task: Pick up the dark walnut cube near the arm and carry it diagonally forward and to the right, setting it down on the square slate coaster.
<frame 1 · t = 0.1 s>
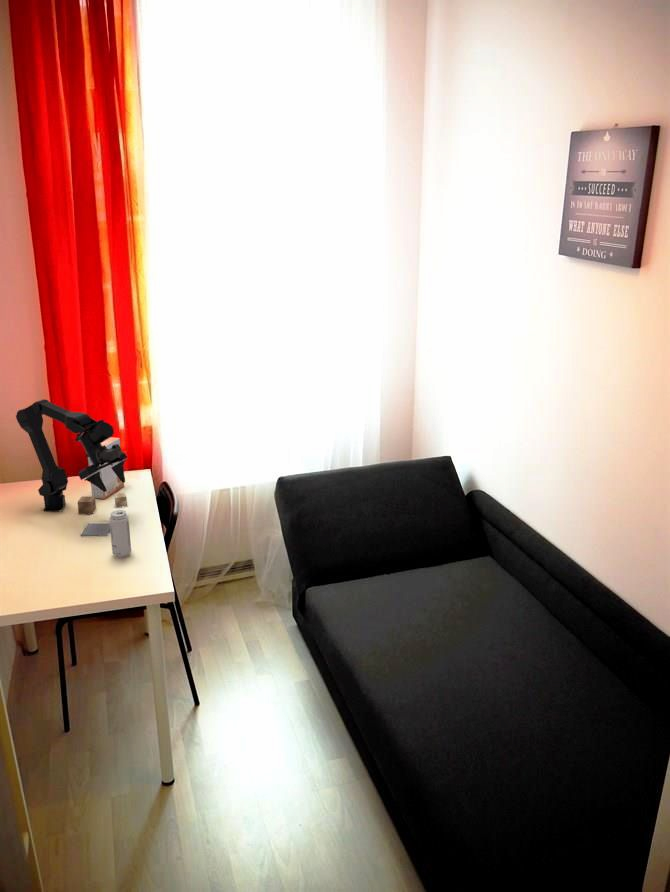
hand: (115, 486, 262), 15 cm above the table, tool tilted 35°, fingers open, 9 cm apart
walnut cube: (87, 511, 278), on the table
slate coaster: (97, 530, 263), on the table
oak block: (121, 504, 284), on the table
cracker box: (108, 492, 295), on the table
energy drink can: (122, 555, 247), on the table
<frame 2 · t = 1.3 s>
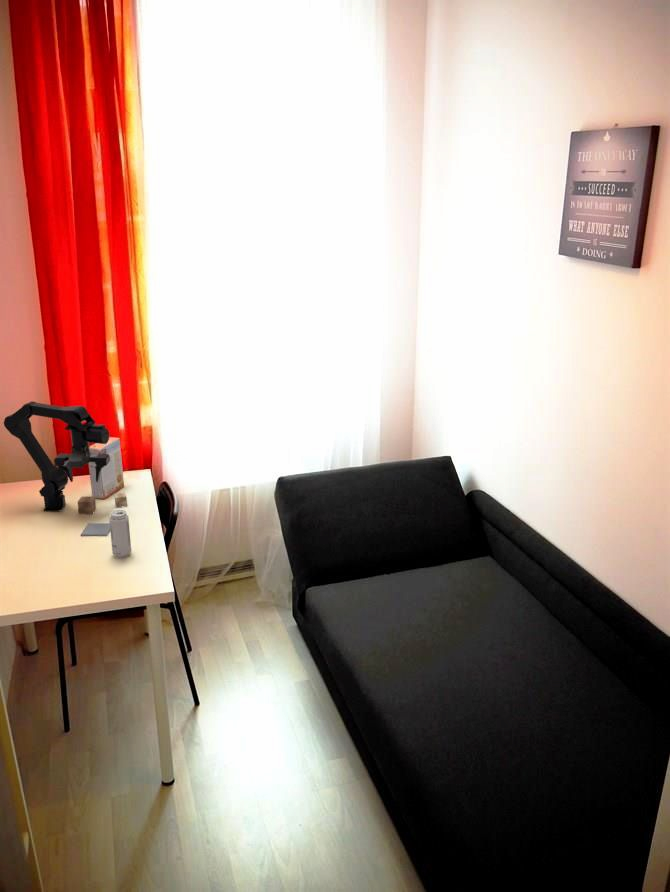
hand: (84, 481, 274), 12 cm above the table, tool pointing down, fingers open, 9 cm apart
nothing on the table moved.
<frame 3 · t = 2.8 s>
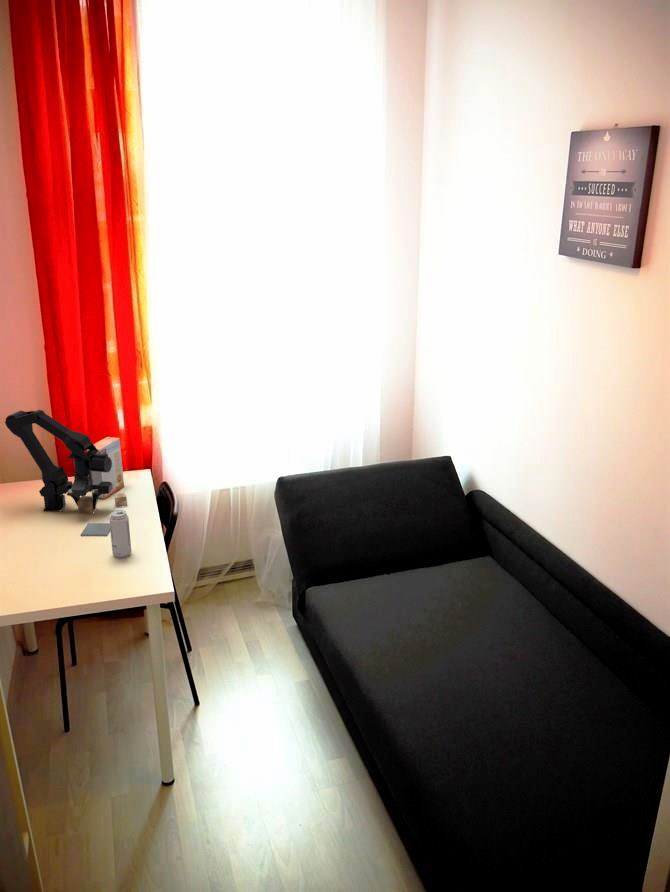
hand: (87, 508, 278), 1 cm above the table, tool pointing down, fingers closed on walnut cube, 5 cm apart
walnut cube: (87, 511, 278), on the table, touching gripper
everything else where it was.
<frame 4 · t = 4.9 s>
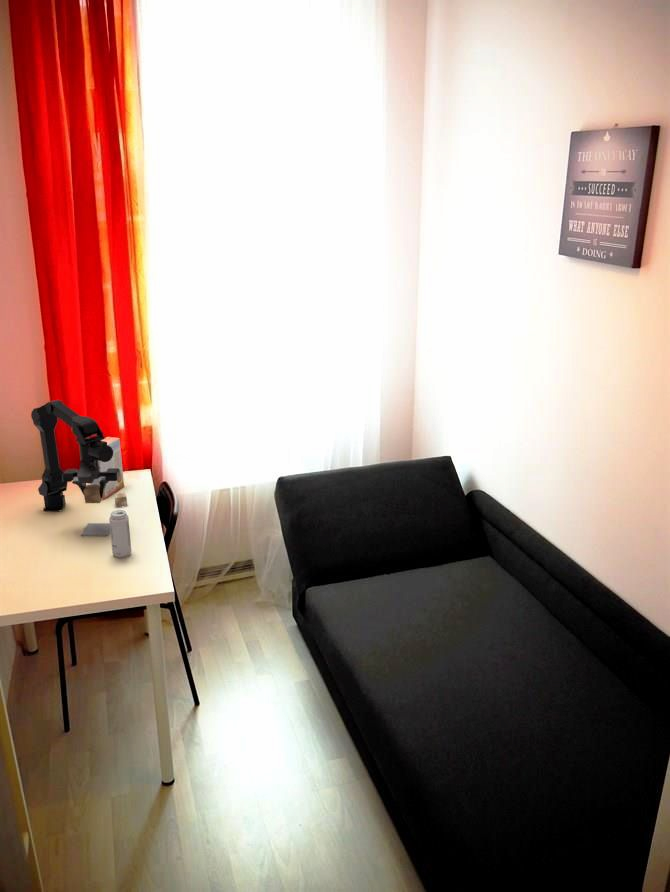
hand: (94, 497, 261), 12 cm above the table, tool pointing down, fingers closed on walnut cube, 5 cm apart
walnut cube: (94, 500, 262), point 11 cm above the table, touching gripper
everything else where it was.
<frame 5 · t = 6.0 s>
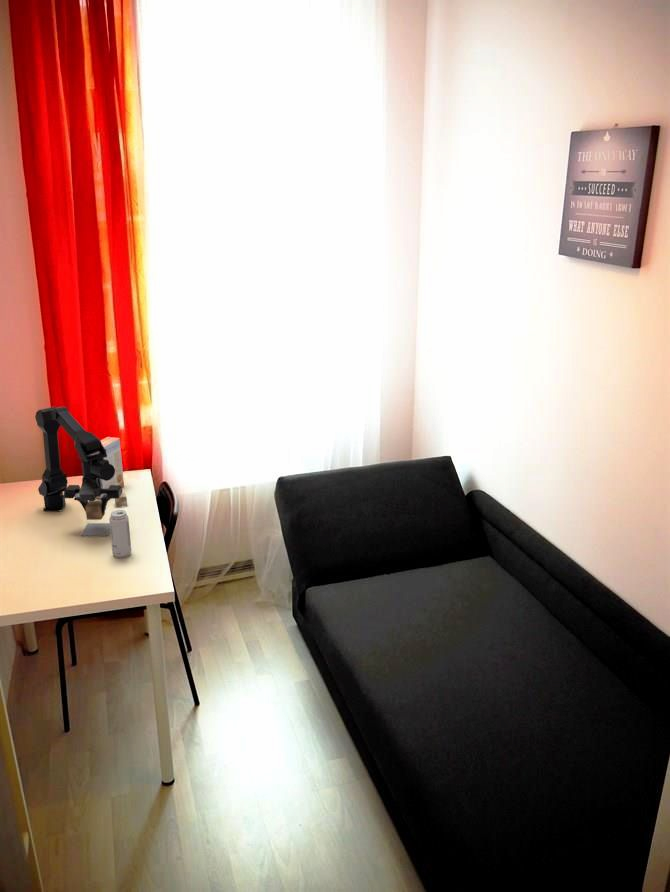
hand: (95, 514, 261), 6 cm above the table, tool pointing down, fingers closed on walnut cube, 5 cm apart
walnut cube: (95, 516, 262), point 5 cm above the table, touching gripper
everything else where it was.
when the fingers open (3 cm above the table, at t = 7.0 s): walnut cube drops 1 cm, resting on slate coaster.
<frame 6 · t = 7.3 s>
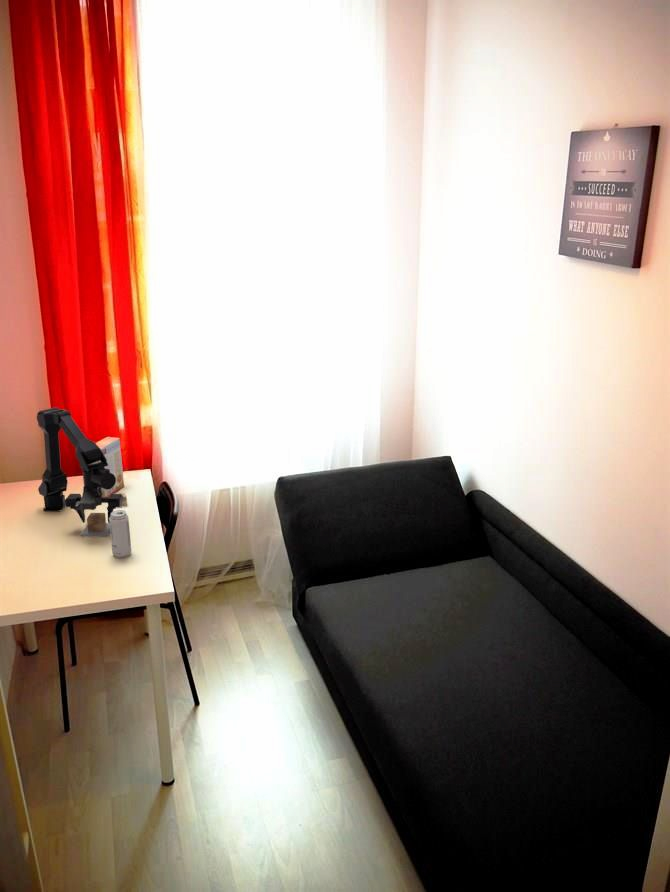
hand: (96, 522, 262), 3 cm above the table, tool pointing down, fingers open, 8 cm apart
walnut cube: (97, 528, 263), point 1 cm above the table, touching slate coaster
everything else where it was.
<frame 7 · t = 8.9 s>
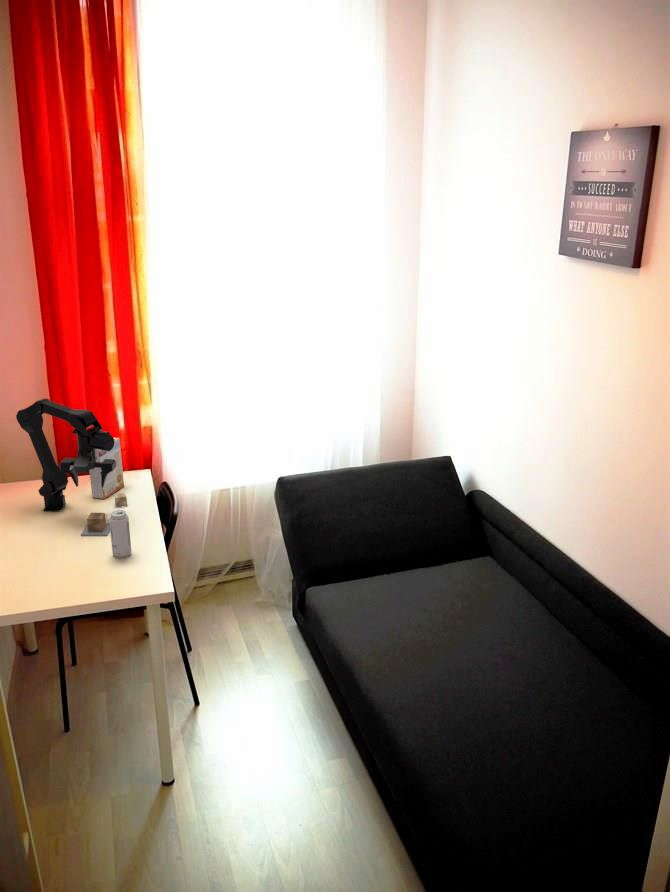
hand: (90, 486, 270), 12 cm above the table, tool pointing down, fingers open, 9 cm apart
nothing on the table moved.
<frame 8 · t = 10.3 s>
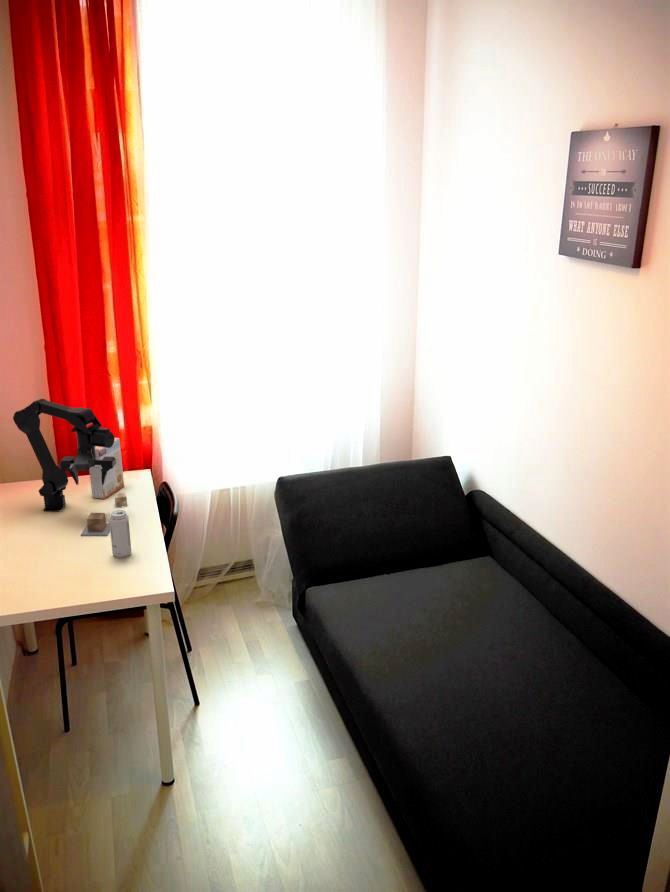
hand: (90, 484, 271), 12 cm above the table, tool pointing down, fingers open, 9 cm apart
nothing on the table moved.
at the end: walnut cube inside the target area on the slate coaster (0.1 cm from its centre), point 0.6 cm above the slate coaster's base; walnut cube tilted 0°; the gripper is holding nothing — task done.
